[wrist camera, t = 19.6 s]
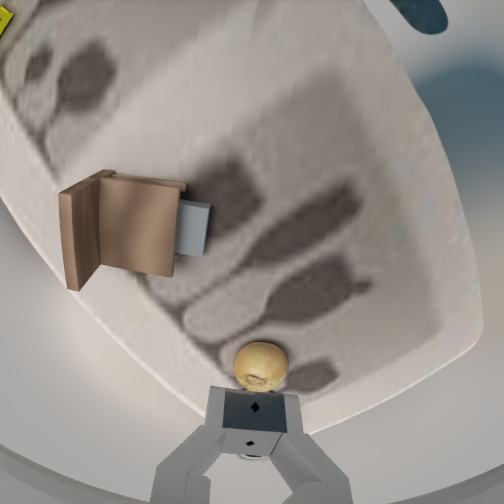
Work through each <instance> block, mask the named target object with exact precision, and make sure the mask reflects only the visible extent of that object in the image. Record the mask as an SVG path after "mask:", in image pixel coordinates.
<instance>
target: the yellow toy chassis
mask: <svg viewBox="0 0 504 504" xmlns="http://www.w3.org/2000/svg"><path fill="white" fill-rule="evenodd" d="M0 6H1V3H0ZM12 16H13V13H9V12H8V11H7V10H6V9H5V8H3V7H0V35H1V33H2V31H3V30H4V28H5V27H6V25H7V23H8V22H9V20H10V19H11V17H12Z"/></svg>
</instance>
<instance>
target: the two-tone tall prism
mask: <svg viewBox="0 0 504 504" xmlns="http://www.w3.org/2000/svg"><path fill="white" fill-rule="evenodd" d="M210 207H211V204H208V203H202V202H195V201H189V200H183V199H180V201H179V210H178V221H177V232H176V244H175V253H178V254H184V255H190V256H195V257H201V258H202V257H203V253H204V249H205V242H206V235H207V227H208V220H209V213H210Z"/></svg>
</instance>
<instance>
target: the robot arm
mask: <svg viewBox="0 0 504 504" xmlns="http://www.w3.org/2000/svg"><path fill="white" fill-rule="evenodd" d="M221 453H230V454H245V455H255V456H268V457H269V458H270V460H271V461H272V463H273V464H274V465H275V467H276V469H277V470H278V471H279V473H280V474H281V476H282V477H283V479H284V480H285V481H286V483H287V485H288V486H289V487H290V489H291V490H292V492H293V494H292V495H291V496H290V497H289V498H287V500H285V501H284V502H283V503H282V504H353V500H352V495H351V489H350V484H349V478H348V477H347V476H346V475H345V474H344V473H343V472H342V471H341V470H340V469H339V468H338V466H337V465H336V464H335V463H334V462H333V461H332V460H331V459H330V458H329V457H328V456H327V455H326V454H325V452H324V451H323V450H322V449H321V448H320V447H319V446H318V445H317V444H316V443H315V441H314V440H313V439H312V438H311V437H310V436H309V435H308V434H304V433H303V425H302V418H301V410H300V403H299V397H298V396H297V395H290V394H281V393H267V392H255V391H254V392H250V391H243V390H236V389H229V388H223V387H216V386H210V390H209V396H208V403H207V410H206V417H205V425H200V426H199V427H198V428H197V429H196V430H195V431H194V432H193V433H192V434H191V435H190V436H189V437H188V438H187V439H186V440H185V441H184V442H183V443H182V444H180V445H179V447H177V448H176V449H175V450H174V451H173V452H172V453H171V454H170V455H169V456H168V457H167V458H165V459H164V460H163V461H162V462H161V463H160V464H159V465H158V466H157V468H156V473H155V478H154V483H153V488H152V494H151V499H150V502H146V501H142V500H138V499H133V498H129V497H126V496H122V495H119V494H115V493H112V492H109V491H106V490H103V489H99V488H96V487H93V486H91V485H88V484H85V483H82V482H80V481H77V480H74V479H72V478H69V477H66V476H64V475H62V474H59V473H57V472H55V471H52V470H50V469H48V468H46V467H44V466H41V465H39V464H37V463H35V462H33V461H31V460H29V459H27V458H25V457H23V456H21V455H19V454H17V453H15V452H14V451H12V450H10V449H8V448H6V447H5V446H3V445H1V444H0V504H209V498H210V482H211V480H210V479H209V478H208V477H207V476H203V474H204V473H205V472H206V471H207V470H208V469H209V468H210V466H211V465H212V464H213V463H214V462H215V461H216V459H217V458H218V457H219V456H220V454H221ZM389 504H504V464H502V465H500V466H498V467H496V468H494V469H491V470H489V471H487V472H485V473H483V474H480V475H478V476H475V477H473V478H470V479H468V480H465V481H463V482H460V483H458V484H455V485H452V486H449V487H447V488H443V489H440V490H437V491H434V492H431V493H428V494H425V495H421V496H417V497H414V498H410V499H406V500H402V501H398V502H393V503H389Z"/></svg>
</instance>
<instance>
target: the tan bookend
mask: <svg viewBox="0 0 504 504" xmlns="http://www.w3.org/2000/svg"><path fill="white" fill-rule="evenodd" d="M186 186H187V183H182V182H175V181H168V180H160V179H153V178H145V177H137V176H128V175H119V174H114V171H113V170H101V171H99V172H97V173H96V174H94V175H92V176H90V177H88V178H86V179H84V180H82V181H80V182H78V183H76V184H74V185H73V186H71V187H69V188H67V189H65V190H64V191H62V192H60V193H58V194H59V217H60V231H61V243H62V253H63V261H64V269H65V277H66V283H67V289H70V290H74V291H78V292H79V291H80V289H81V288H82V287H83V286H84V284H85V283H86V282H87V281H88V279H89V278H90V277H91V276H92V274H93V273H94V272H95V271H96V269H97V268H98V267H99V266H100V265H101V264H102V265H107V266H112V267H117V268H122V269H127V270H133V271H138V272H143V273H149V274H154V275H159V276H165V277H171V278H172V276H173V271H174V261H178V260H179V254H178V253H175V244H176V232H177V221H178V210H179V201H180V192H181V191H183V192H185V191H186Z"/></svg>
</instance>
